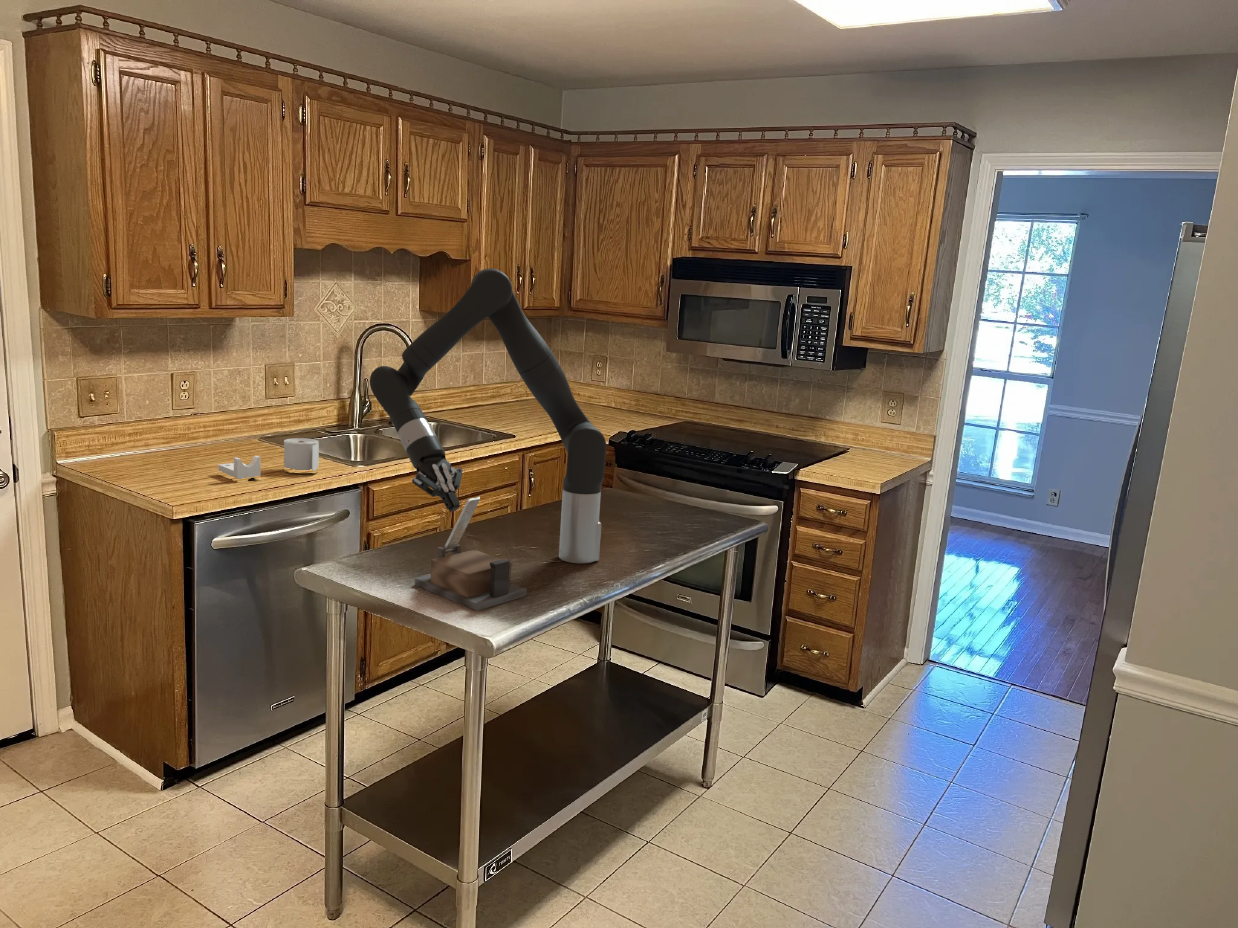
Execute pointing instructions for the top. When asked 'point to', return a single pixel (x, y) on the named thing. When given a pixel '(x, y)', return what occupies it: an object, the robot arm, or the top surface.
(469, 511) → the strap
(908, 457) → the top surface
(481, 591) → the latch block
